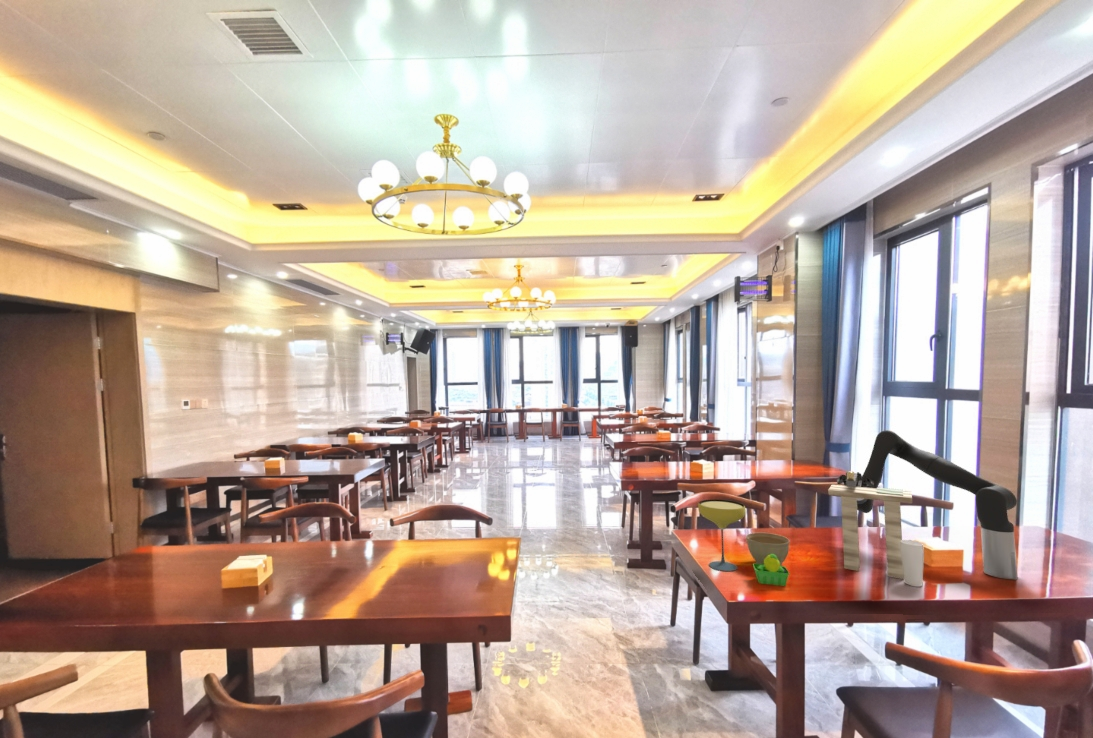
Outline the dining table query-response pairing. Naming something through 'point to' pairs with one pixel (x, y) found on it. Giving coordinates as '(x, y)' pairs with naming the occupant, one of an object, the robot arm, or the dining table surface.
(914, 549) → the drinking glass
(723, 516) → the cocktail glass
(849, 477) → the crank handle
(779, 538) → the planter bowl
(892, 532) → the shelf
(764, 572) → the fruit basket
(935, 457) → the robot arm
